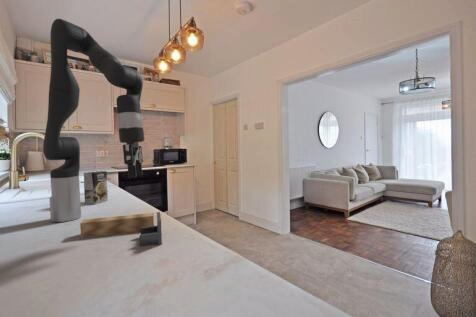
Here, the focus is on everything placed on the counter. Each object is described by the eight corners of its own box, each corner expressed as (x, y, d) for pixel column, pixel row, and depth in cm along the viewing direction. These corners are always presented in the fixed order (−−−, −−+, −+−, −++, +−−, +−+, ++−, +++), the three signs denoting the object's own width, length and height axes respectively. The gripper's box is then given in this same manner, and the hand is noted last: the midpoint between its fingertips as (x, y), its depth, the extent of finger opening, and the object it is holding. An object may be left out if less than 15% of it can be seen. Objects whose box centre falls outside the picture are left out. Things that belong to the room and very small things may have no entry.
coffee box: (95, 204, 117) (93, 172, 116) (84, 204, 118) (82, 172, 118) (108, 200, 126) (107, 170, 125) (98, 200, 127) (97, 170, 127)
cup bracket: (139, 247, 66) (138, 223, 66) (141, 235, 75) (140, 214, 75) (161, 244, 68) (161, 221, 68) (160, 232, 77) (159, 212, 77)
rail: (81, 238, 74) (80, 223, 74) (85, 234, 78) (84, 219, 78) (153, 230, 81) (153, 215, 81) (154, 226, 85) (153, 212, 84)
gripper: (125, 131, 83) (129, 176, 83) (111, 125, 69) (116, 179, 69) (147, 129, 84) (151, 173, 85) (137, 124, 70) (143, 177, 71)
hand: (136, 176), depth 77 cm, fingers open, 8 cm apart
